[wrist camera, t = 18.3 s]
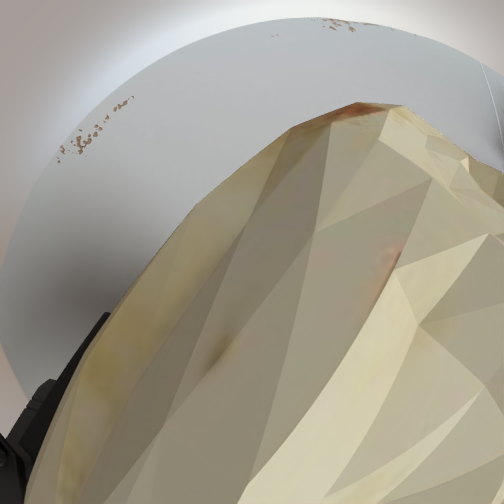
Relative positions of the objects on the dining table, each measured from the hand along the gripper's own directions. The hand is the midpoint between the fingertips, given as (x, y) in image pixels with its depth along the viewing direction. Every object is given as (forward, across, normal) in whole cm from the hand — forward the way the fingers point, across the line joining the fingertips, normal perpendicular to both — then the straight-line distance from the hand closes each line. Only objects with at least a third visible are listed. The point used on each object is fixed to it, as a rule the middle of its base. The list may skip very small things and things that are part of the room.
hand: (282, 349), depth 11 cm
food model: (+5, 0, -9) cm, 10 cm away
